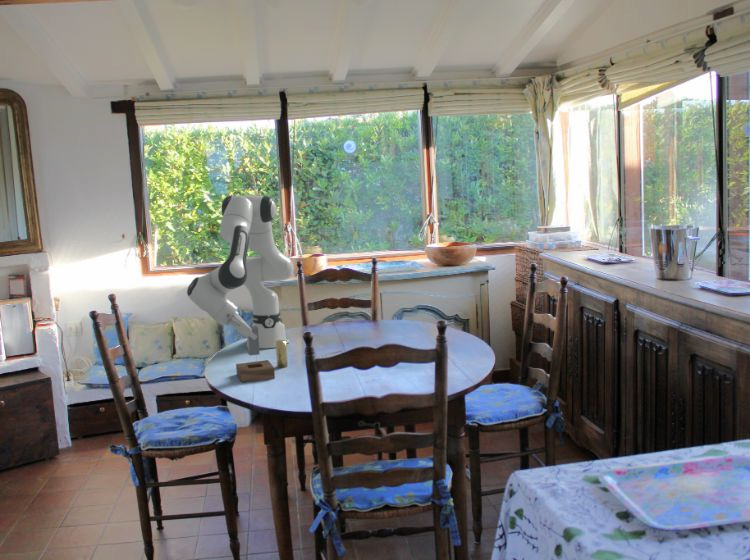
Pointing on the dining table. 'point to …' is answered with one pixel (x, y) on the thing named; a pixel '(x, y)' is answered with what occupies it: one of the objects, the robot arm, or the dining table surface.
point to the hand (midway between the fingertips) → (254, 336)
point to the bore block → (255, 371)
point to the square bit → (253, 342)
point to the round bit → (281, 353)
